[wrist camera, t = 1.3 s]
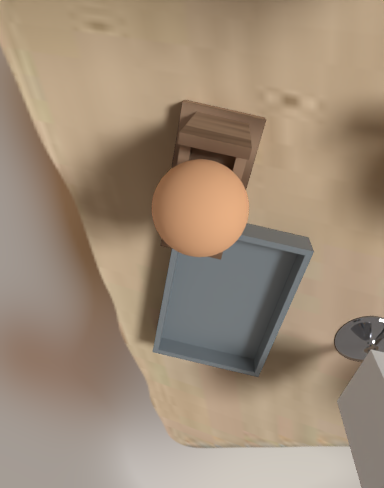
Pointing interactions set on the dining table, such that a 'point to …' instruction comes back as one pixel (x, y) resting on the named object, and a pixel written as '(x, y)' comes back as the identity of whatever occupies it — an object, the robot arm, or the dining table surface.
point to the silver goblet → (360, 337)
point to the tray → (231, 300)
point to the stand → (218, 139)
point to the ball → (200, 208)
